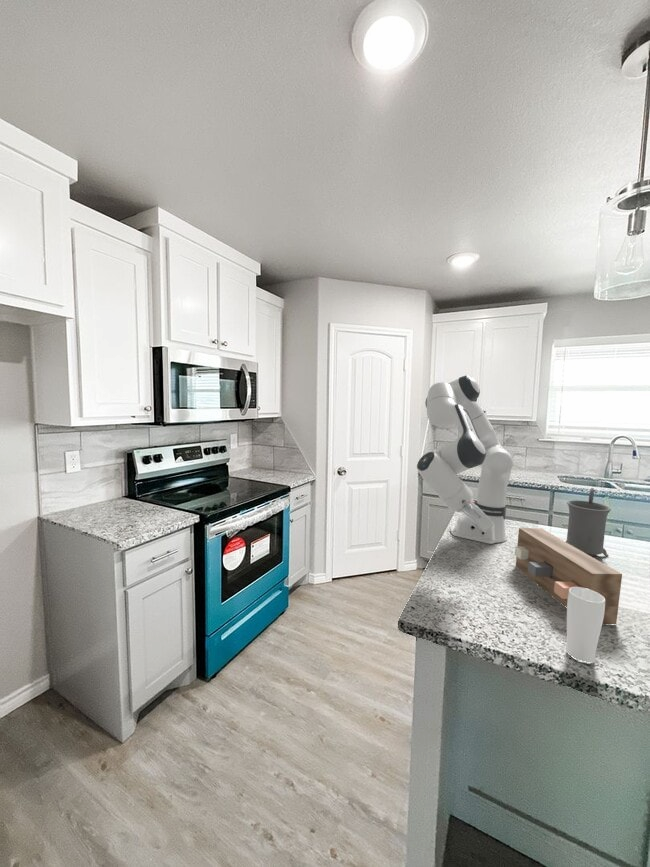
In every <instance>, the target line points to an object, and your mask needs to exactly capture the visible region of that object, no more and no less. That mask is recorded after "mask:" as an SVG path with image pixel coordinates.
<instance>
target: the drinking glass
mask: <svg viewBox="0 0 650 867" xmlns="http://www.w3.org/2000/svg"><path fill="white" fill-rule="evenodd" d="M604 612H605V598H604V597H603V596H602V595H601V594H599V593H597V592H595V591H593V590H590V589H586V588H582V587H572V588H570V589H569V593H568V599H567V609H566V646H565V651H567V652H568V653H569V654H570V655H571V656H573V657H574V658H576V659H579V660H582V661H586V662H592V661H594V660H595V661H596V654H597V650H598V649H597V648H598V644H599V640H600V636H601V631H602V626H603V625H602V623H603V619H604ZM567 652H566V653H567ZM595 661H594V662H595Z"/></svg>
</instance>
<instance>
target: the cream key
mask: <svg viewBox="0 0 650 867" xmlns="http://www.w3.org/2000/svg"><path fill="white" fill-rule="evenodd" d="M514 556H515V557H516V556H517V557H518V558H519V559H528V556H529V550H528V549H527V548H525V547H524V546H517V545H516V546H515V548H514Z"/></svg>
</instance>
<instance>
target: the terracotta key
mask: <svg viewBox="0 0 650 867" xmlns="http://www.w3.org/2000/svg"><path fill="white" fill-rule="evenodd" d="M572 587H581V586H580V585H578V584H577V583H575V582H555V586H554V592H555V593H556V594H557V595H558V596H560V597H561V598H562V599H568V593H569V589H570V588H572Z"/></svg>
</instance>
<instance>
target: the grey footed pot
mask: <svg viewBox="0 0 650 867" xmlns="http://www.w3.org/2000/svg"><path fill="white" fill-rule="evenodd" d="M594 495H595V488H593V487H591V488H590V489H589V494H588V501H587V500H578V499H576V500H575V499H572V500H567V501H566V504H567V506H568V521H567V522H568V523H567V534H566V540H565V542H566V543H568V544H570V545H572V546H573V547H575V548H577V549H579V550H580V551H582V552H584V553H586V554H588V555H594V556H595V555H603V556H604V557H607V558H608V557H609V554H608V553H607V550H606V549H605V548H604V544H605V543H604V542H605V533H606V524H607V518H608V514H609V513H610V512H611V511H612V509H611V507H610V506H607V505H605V504H602V503H598V502H595V501H594V498H595V496H594Z"/></svg>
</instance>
